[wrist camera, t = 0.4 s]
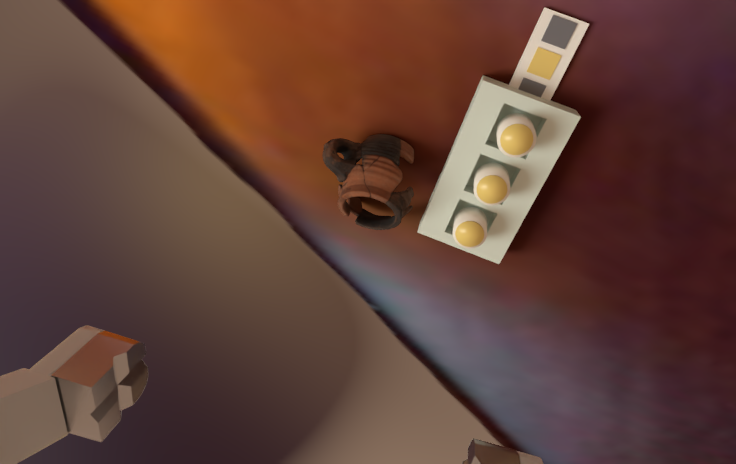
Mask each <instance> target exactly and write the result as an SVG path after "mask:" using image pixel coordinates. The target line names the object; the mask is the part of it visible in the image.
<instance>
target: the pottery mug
mask: <svg viewBox="0 0 736 464" xmlns="http://www.w3.org/2000/svg"><path fill="white" fill-rule="evenodd" d="M337 153H342V154H343V156H344V159H342V158H340V157H339V156H338V155H337ZM400 156H401V157H403V158H404V159H405V160H406V161H407V162H409V163H410V164H411V163H413V161H414V149H413V148H412V147H411V146H410V145H409V144H408V143H406V142H405V141H403V140H401V139H399V138H397V137H394V136H392V135H385V134H377V135H372V136H369V137H368V138H367V139H366V140H365V141H364V142H363V143H361V144H360V143H354V142H352V141H349V140H347V139H342V138H339V139H332V140H330V141H329V142H328V143H326V144H325V145H324V151H323V160H324V163H325V165H326V166H327V167H328V168H329V169H330V170H331V171H332V172H333V173H334V174H335V175H336V176H337V179H338V181H339V182H343V181H344V183H343V186H342V185H339V187H338V192H339V199H338V208H339V210H340V211H341V213H342V214H343V215H344V216H349V214H350V212H351V213H352V214H354V215H356V216H358V217H357V219H356V221H355V222H356V224H357V225H360V226H362V227H365V228H369V229H375V230H382V229H383V230H386V229H391V228H394V227H396V226H398V225H399V224H400V223H401V219H402V217H404V216H405V215H406V214H408V213H409V212H410V210H411V209H412V208H413V206H409V205H410V202H411V198H412V197H413V195H414V193H413V189H412V187H408V188H407V189H406V190H405V191H402V192H393V190H395V188H396V187H397V186H398V184H399V183H400V182H401V181H402V179H403V178H402V176H403V174H402V171H401V170H400V168H398V166H399V158H400ZM361 158H362V161H363V162H362V164H363V165H360V164H357V165H356V163H357V162H358V161H359V160H360V159H361ZM357 196H361V197H362V196H363V197H371V198H373V199H376V200H379V201H381V202H383V203H385V204H386V205H388V206H389V207H390V208H391V209H392V210H393V212H394V214H395V216H392V217H391V216H378V215H374V214H372V213H370V212H368V211H366V210H365V209H363V208H362V203H361V199H360V198H358V197H357ZM347 199H348V203H347V202H346V200H347ZM408 206H409V207H408ZM407 207H408V208H407Z"/></svg>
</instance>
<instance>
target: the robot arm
mask: <svg viewBox="0 0 736 464" xmlns="http://www.w3.org/2000/svg"><path fill="white" fill-rule="evenodd" d="M145 355H146V349H145V344H143V343H141V342H138V341H135V340H132V339H129V338H126V337H123V336H120V335H117V334H114V333H111V332H107V331H104V330H101V329H97V328H94V327H91V326H88V325H86V326H84V327H81V328H79V329H77V331H75V332H74V333H73V334H71V335H70V336H69V337H68V338H67V339H65V340H64V341H63V342H62V343H61V344H59V345H58V346H57V347H56V348H55V349H53V350H52V351H51V352H50V353H49V354H47V355H46V356H45V357H44V358H43V359H42V360H40V361H39V362H38V363H37V364H35V365H34V366H33V367H32V368H31V369H25V368H23V369H20V370H17V371H14V372H11V373H8V374H5V375H3V376H0V464H17V463H18V462H20V461H22V460H24V459H26V458H27V457H29V456H31V455H33V454H35V453H36V452H38V451H40V450H42V449H44V448H45V447H47V446H49V445H51V444H52V443H54V442H56V441H58V440H60V439H62V438H63V437H65V436H67V435H68V433H71V434H75V435H78V436H82V437H85V438H89V439H92V440H95V441H99V442H102V441H103V440H104V438H105V437H106V436H107V435H108V434H109V433H110V432H111V430H112V429H113V428H114V427H115V426H116V425H117V423H118V422H119V421H120V420H121V410H123V409H125V408H127V407H129V406H131V405H133V404H134V403H135V402H136V401H137V399H138V398H139V397H140V396H141V394H142V392H143V390H144V388H145V386H146V384H147V379H148V367H147V366H146V364H145V363H144V362H143V360H142V358H143V357H144V356H145ZM462 464H543V461H542V460H541V458H540V457H536V456H533V455H529V454H526V453H522V452H519V451H516V450H513V449H510V448H506V447H502V446H499V445H495V444H491V443H488V442H484V441H481V440H477V439H473V440H472V441H471V443H470V445H469V448H468V459H467V460H465V461H463V463H462Z"/></svg>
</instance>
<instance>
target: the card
mask: <svg viewBox="0 0 736 464" xmlns="http://www.w3.org/2000/svg"><path fill="white" fill-rule="evenodd" d="M588 26H589V23H586V22H583V21H580V20H578V19H575V18H572V17H569V16H567V15H564V14H561V13H558V12H556V11H553V10H550V9H548V8H545V7H544V9H543V11H542V13H541V16H540V18H539V20H538V22H537V24H536V26H535V29H534V31H533V33H532V35H531V37H530V39H529V42H528V44H527V46H526V48H525V50H524V53H523V55H522V57H521V59H520V61H519V63H518V66H517V68H516V70H515V72H514V74H513V76H512V79H511V81H510V83H509V86H512V87H514V88H517V89H519V90H522V91H524V92H527V93H530V94H533V95H535V96H538V97H541V98H544V99H546V100H549V101H550V100H551V98H552V96H553V94H554V92H555V90H556V88H557V86H558V85H559V83H560V81H561V79H562V77H563V75H564V73H565V71H566V69H567V67H568V65H569V63H570V61H571V59H572V57H573V55H574V53H575V51H576V49H577V47H578V45H579V44H580V42H581V40H582V38H583V36H584V34H585V32H586V30H587V28H588Z"/></svg>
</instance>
